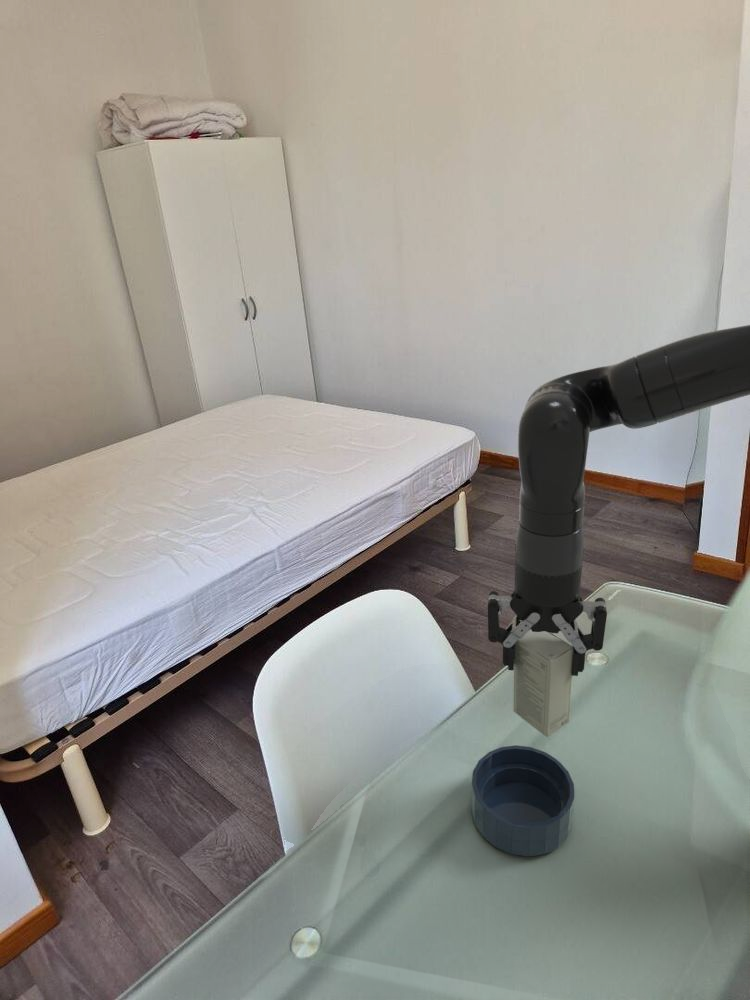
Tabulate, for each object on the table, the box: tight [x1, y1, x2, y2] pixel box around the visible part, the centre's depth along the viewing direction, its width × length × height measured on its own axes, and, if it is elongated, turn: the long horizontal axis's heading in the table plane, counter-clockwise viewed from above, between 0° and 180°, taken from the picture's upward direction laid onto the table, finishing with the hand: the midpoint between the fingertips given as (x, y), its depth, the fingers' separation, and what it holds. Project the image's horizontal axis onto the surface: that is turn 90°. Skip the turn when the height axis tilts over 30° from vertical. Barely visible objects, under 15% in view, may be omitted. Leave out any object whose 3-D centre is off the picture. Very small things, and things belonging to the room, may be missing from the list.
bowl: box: [470, 745, 575, 857], centre depth 92 cm, size 13×13×6 cm
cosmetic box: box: [512, 629, 573, 737], centre depth 87 cm, size 6×4×12 cm
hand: (542, 668), depth 86 cm, fingers closed on cosmetic box, 7 cm apart
